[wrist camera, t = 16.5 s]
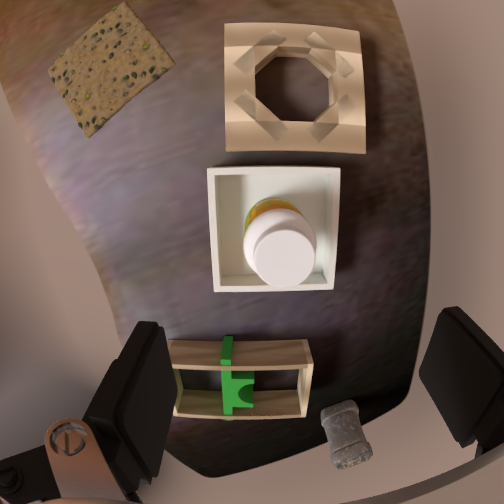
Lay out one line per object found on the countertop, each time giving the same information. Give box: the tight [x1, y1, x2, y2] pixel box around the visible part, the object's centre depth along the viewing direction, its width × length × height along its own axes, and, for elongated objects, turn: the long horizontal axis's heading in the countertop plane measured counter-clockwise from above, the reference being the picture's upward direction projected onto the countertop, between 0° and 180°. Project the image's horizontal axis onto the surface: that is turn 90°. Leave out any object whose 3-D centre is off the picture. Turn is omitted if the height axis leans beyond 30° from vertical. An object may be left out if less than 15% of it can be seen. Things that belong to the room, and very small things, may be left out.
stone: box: [321, 400, 373, 469], centre depth 32 cm, size 3×6×10 cm, turn 111°
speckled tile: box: [48, 2, 176, 138], centre depth 23 cm, size 12×12×1 cm
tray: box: [207, 166, 340, 292], centre depth 27 cm, size 11×11×3 cm
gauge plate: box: [225, 23, 366, 154], centre depth 23 cm, size 12×12×3 cm
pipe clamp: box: [220, 336, 254, 420], centre depth 32 cm, size 10×4×4 cm, turn 179°
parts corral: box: [167, 339, 314, 419], centre depth 32 cm, size 9×16×4 cm, turn 91°
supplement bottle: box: [243, 197, 317, 288], centre depth 23 cm, size 5×5×10 cm
